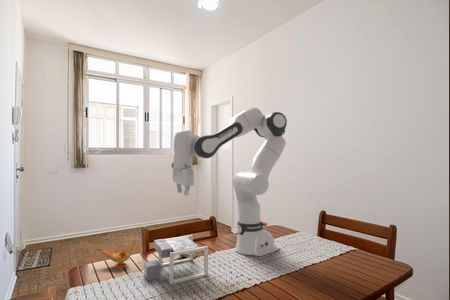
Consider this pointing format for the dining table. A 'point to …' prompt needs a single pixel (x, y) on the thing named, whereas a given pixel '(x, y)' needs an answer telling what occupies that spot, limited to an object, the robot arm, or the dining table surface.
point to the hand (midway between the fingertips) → (182, 193)
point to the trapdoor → (173, 246)
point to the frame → (185, 261)
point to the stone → (152, 269)
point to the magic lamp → (119, 256)
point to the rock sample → (188, 255)
